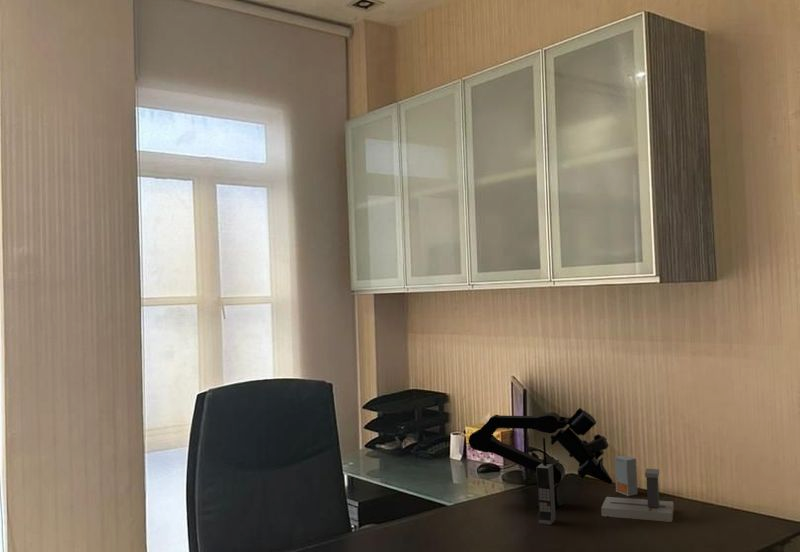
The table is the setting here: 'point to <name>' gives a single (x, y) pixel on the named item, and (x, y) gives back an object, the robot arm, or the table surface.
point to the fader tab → (652, 487)
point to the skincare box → (626, 475)
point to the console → (637, 509)
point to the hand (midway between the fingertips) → (611, 482)
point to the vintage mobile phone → (546, 491)
